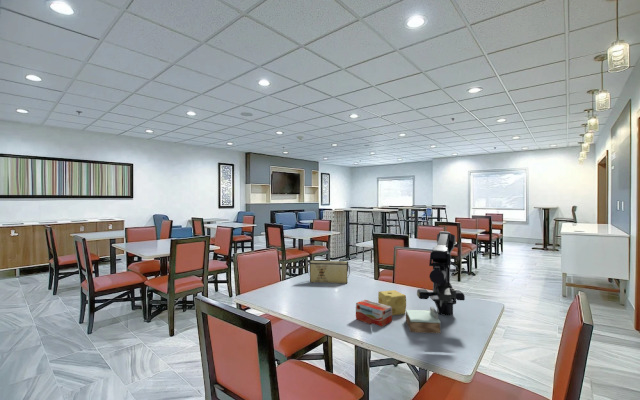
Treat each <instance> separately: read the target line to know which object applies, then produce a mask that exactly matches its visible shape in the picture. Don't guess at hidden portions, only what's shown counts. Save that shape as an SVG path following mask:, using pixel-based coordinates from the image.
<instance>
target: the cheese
mask: <svg viewBox="0 0 640 400" xmlns="http://www.w3.org/2000/svg"><path fill="white" fill-rule="evenodd" d="M377 299H378V300H377V301H378V302H377V303H380V304H384V305H387V306H391V308H392V316H396V315H397V316H398V315H406V310H407V297H406V294H404V293H401V292H399V291H397V290H395V289H392V290H385V291H384V290H383V291H382V290H381V291H378V297H377Z"/></svg>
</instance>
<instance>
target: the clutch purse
mask: <svg viewBox="0 0 640 400" xmlns="http://www.w3.org/2000/svg"><path fill="white" fill-rule="evenodd" d="M350 268H351V267H350V263H349V261H341V260H340V261H339V260H338V261H337V260H336V261H335V260H334V261H333V260H309V262H308V263H307V267H306V270H307V274H308V275H309V282H310V283H326V284H327V283H330V284H331V283H333V284H348V278H349V277H350V275H351V271H350V270H351V269H350Z"/></svg>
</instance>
